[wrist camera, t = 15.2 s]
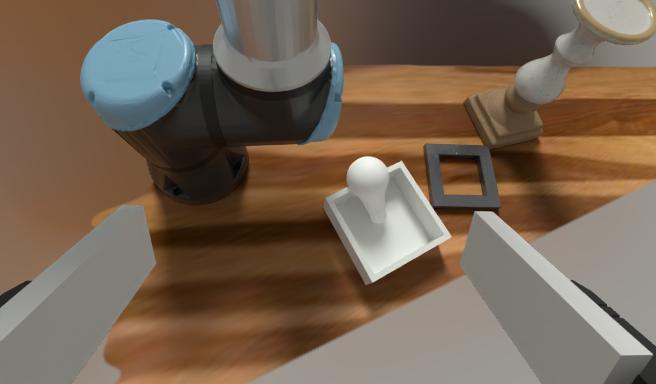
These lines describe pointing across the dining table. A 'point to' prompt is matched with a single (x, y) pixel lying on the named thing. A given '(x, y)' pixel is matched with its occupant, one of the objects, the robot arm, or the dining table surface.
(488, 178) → the dark grey square frame
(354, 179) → the lightbulb
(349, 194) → the bin
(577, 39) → the candle holder
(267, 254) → the dining table surface
